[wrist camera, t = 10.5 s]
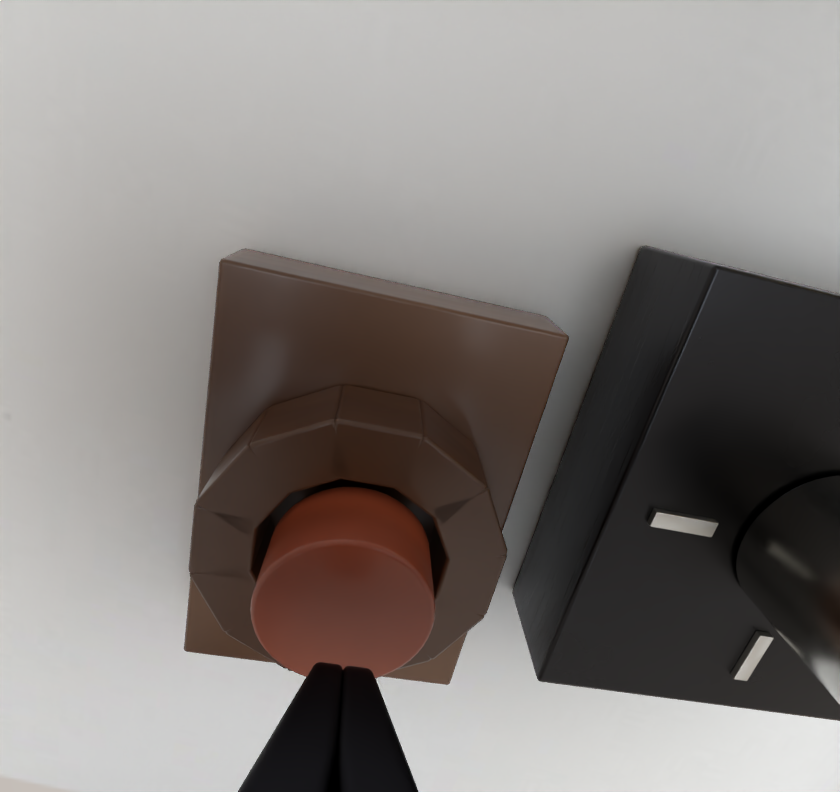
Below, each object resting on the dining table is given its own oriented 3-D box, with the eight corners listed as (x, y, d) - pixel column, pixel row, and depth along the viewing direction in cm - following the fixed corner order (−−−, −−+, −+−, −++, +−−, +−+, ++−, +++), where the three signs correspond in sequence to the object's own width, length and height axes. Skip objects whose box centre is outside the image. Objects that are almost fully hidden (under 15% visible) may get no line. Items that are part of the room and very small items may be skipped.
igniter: (444, 636, 16) (457, 753, 13) (204, 603, 15) (152, 719, 12) (548, 316, 12) (603, 364, 9) (242, 247, 11) (183, 274, 8)
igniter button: (410, 622, 12) (413, 694, 10) (261, 601, 11) (239, 673, 10) (446, 500, 10) (455, 558, 9) (282, 471, 10) (260, 527, 8)
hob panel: (800, 636, 17) (886, 734, 14) (510, 592, 15) (538, 688, 12) (996, 332, 13) (1171, 377, 10) (640, 244, 12) (721, 265, 9)
